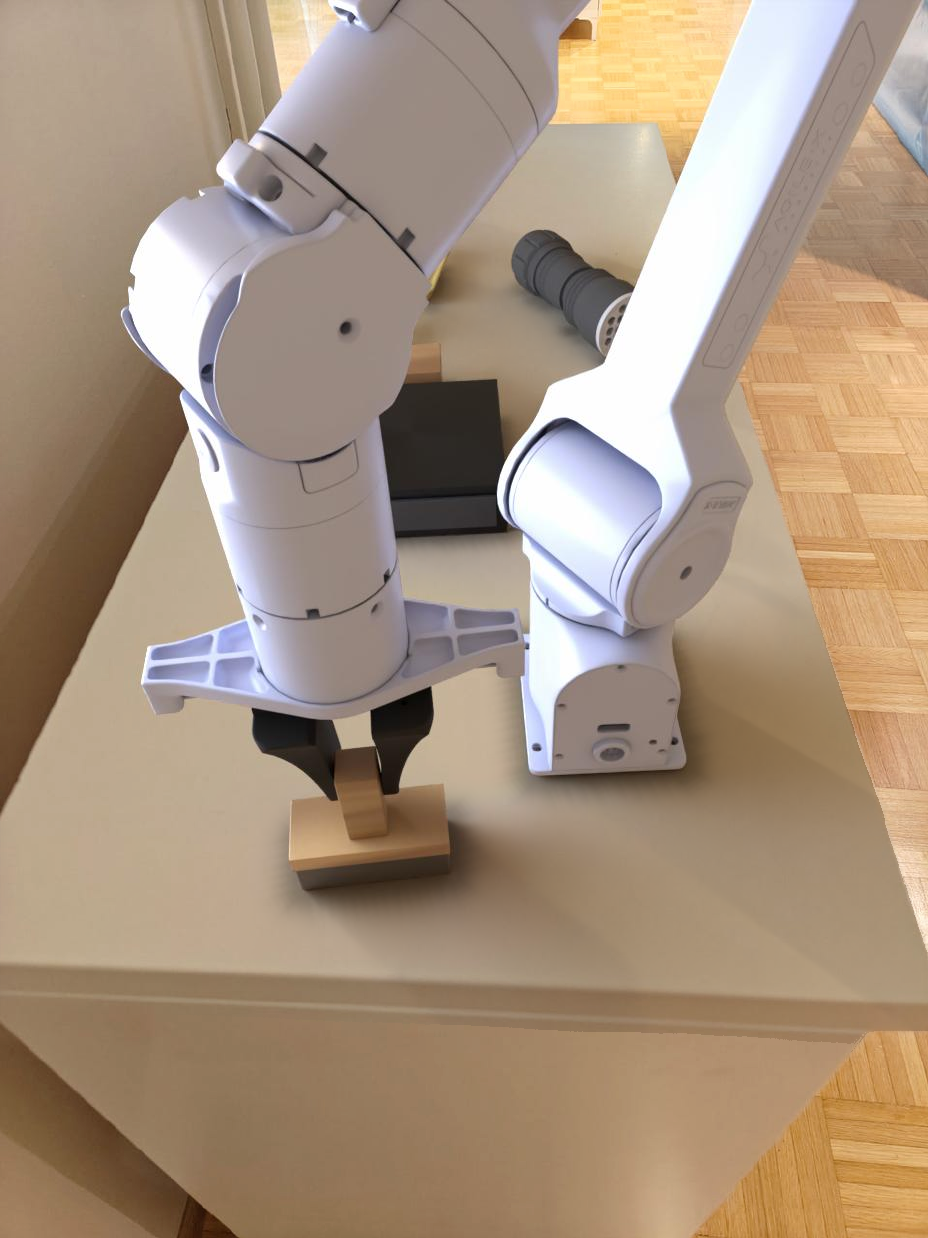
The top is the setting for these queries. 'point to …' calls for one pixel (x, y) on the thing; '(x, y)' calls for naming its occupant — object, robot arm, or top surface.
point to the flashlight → (572, 286)
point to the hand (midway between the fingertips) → (363, 779)
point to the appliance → (444, 458)
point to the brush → (368, 828)
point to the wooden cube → (424, 364)
